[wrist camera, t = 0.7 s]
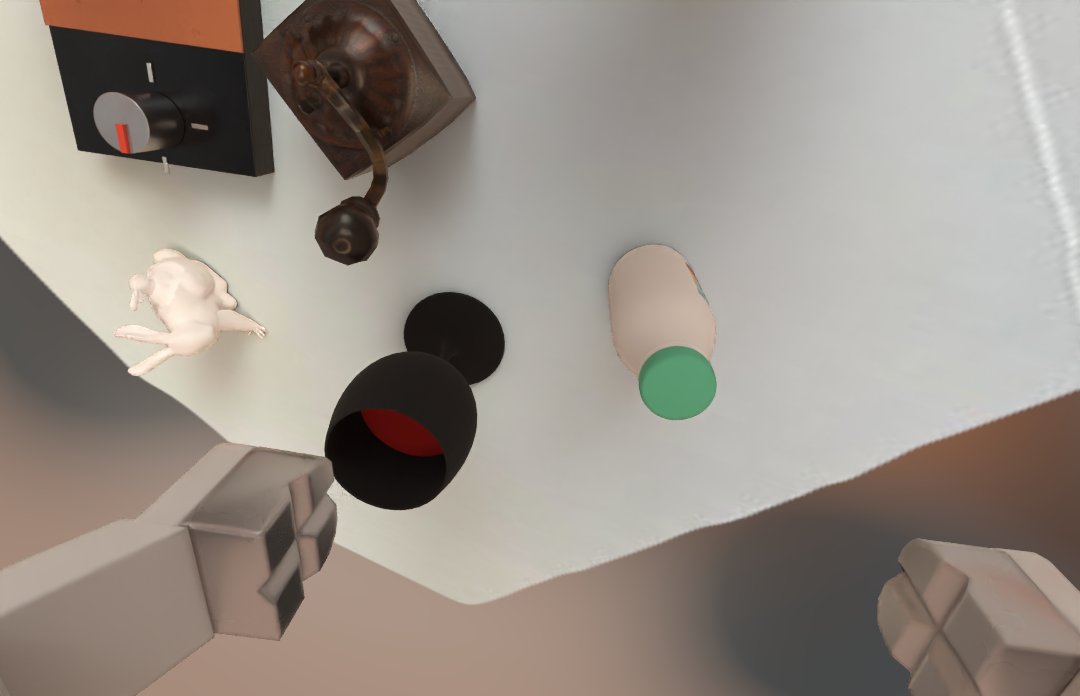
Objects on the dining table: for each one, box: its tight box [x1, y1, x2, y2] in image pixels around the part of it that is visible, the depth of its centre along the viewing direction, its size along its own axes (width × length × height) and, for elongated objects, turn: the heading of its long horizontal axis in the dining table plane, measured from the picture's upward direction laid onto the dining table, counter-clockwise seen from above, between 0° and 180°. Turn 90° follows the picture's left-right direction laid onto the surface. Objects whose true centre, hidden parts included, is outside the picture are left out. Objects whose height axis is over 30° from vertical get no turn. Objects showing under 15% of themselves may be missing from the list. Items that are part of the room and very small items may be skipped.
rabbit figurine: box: [114, 249, 267, 376], centre depth 52 cm, size 12×8×10 cm, turn 29°
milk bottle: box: [609, 245, 716, 420], centre depth 42 cm, size 8×8×20 cm
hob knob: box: [94, 91, 184, 153], centre depth 44 cm, size 4×4×4 cm
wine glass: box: [324, 292, 505, 510], centre depth 46 cm, size 10×10×20 cm
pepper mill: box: [250, 0, 476, 265], centre depth 38 cm, size 16×11×18 cm
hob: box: [49, 0, 274, 177], centre depth 45 cm, size 19×16×3 cm
